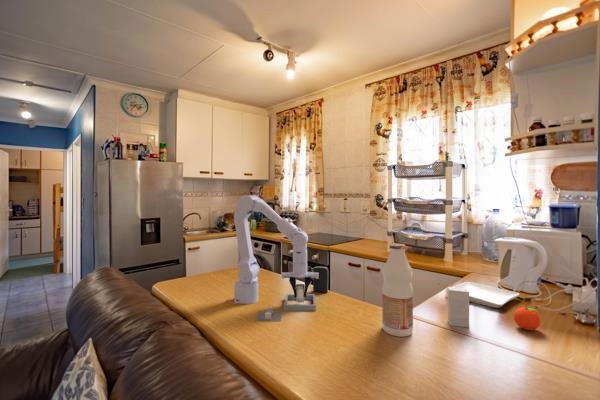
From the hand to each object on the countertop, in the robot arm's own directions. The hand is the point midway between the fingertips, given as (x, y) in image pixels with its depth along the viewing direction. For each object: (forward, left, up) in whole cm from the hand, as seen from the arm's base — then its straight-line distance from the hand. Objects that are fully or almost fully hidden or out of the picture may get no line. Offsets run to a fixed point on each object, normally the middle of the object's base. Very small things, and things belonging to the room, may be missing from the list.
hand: (300, 296), depth 116 cm
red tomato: (+75, -19, -4) cm, 77 cm away
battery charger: (+9, +18, -4) cm, 21 cm away
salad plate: (+77, +10, -5) cm, 78 cm away
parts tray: (0, 0, -4) cm, 4 cm away
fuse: (0, 0, -2) cm, 2 cm away
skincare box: (+54, -15, -4) cm, 56 cm away
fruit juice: (+32, -20, -4) cm, 38 cm away
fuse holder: (-11, -11, -4) cm, 16 cm away
